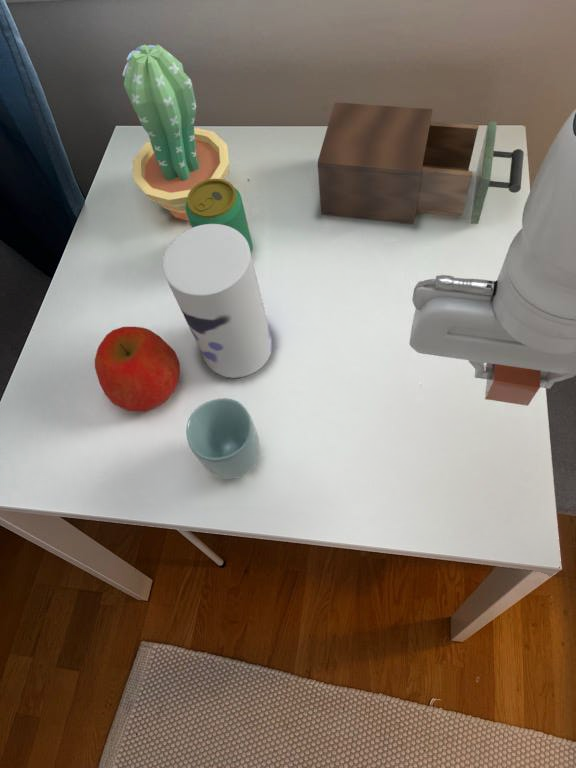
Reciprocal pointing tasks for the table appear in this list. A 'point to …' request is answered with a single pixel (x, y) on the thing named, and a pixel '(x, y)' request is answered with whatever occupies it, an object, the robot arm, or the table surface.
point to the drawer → (461, 170)
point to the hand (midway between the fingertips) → (512, 376)
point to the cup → (223, 438)
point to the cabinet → (373, 162)
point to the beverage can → (217, 206)
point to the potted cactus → (170, 130)
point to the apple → (136, 368)
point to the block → (513, 384)
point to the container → (220, 298)
